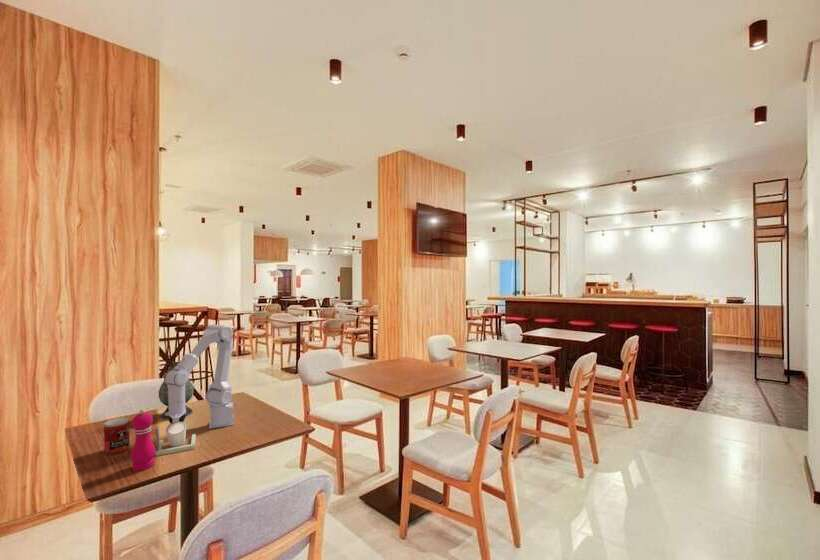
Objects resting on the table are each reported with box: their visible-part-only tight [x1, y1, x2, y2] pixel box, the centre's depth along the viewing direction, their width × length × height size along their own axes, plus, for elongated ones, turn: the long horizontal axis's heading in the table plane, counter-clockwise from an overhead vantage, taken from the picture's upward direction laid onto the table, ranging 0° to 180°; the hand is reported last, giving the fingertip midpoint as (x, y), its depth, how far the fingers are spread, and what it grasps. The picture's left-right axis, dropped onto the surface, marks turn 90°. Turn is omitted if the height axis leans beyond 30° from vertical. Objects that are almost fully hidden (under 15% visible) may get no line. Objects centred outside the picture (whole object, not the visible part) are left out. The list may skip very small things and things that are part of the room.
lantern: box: [158, 361, 195, 421], centre depth 187 cm, size 14×14×25 cm
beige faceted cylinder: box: [165, 421, 187, 448], centre depth 152 cm, size 7×7×7 cm
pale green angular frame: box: [150, 427, 197, 457], centre depth 151 cm, size 15×12×10 cm
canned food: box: [103, 417, 130, 455], centre depth 149 cm, size 8×8×11 cm
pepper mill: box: [129, 408, 157, 472], centre depth 136 cm, size 7×7×20 cm
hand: (177, 434), depth 155 cm, fingers closed
